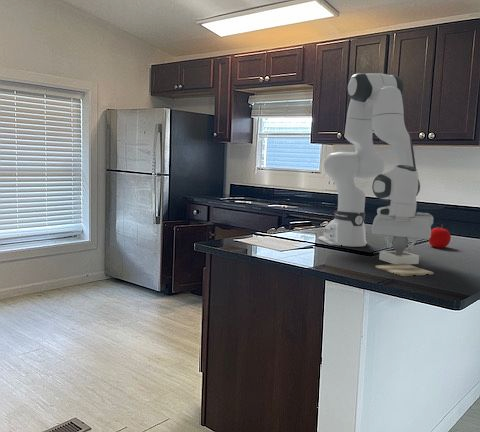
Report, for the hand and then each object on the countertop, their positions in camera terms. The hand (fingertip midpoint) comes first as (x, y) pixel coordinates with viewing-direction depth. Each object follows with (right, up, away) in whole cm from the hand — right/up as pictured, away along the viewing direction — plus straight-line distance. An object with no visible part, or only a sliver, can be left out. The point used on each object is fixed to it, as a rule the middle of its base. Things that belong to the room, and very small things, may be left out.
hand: (399, 249), depth 173 cm
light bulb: (0, -5, +1) cm, 5 cm away
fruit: (+28, -2, +35) cm, 45 cm away
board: (-3, -6, -14) cm, 15 cm away
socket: (0, -5, +1) cm, 5 cm away
